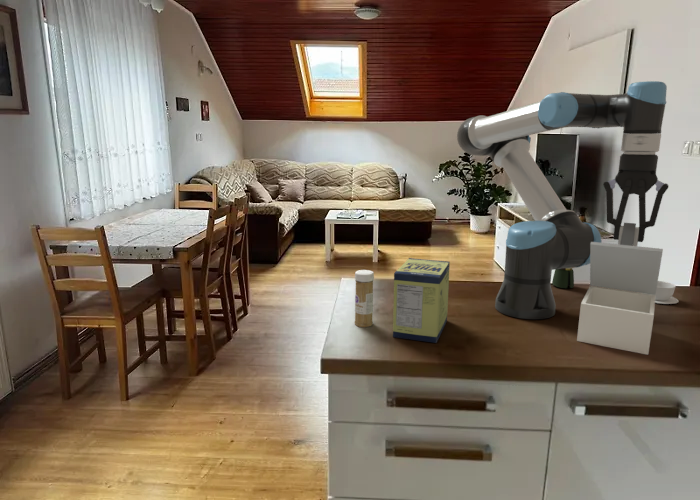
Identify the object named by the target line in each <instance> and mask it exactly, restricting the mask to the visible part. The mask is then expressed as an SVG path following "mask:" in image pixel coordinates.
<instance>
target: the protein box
mask: <svg viewBox="0 0 700 500" xmlns="http://www.w3.org/2000/svg"><path fill="white" fill-rule="evenodd" d="M450 264H451V262H450V261H447V260H446V261H444V260H436V259H435V260H432V259H425V258H424V259H421V258H413V257H411V258H410V257H408V259H407V260H406V261H405V262H403V264H402V265H401V266H400V267H399V268H398V269H397V270H395V271H394V274H393V309H392V310H393V314H392V337H393V338H398V339H405V340H412V341H421V342H428V343H432V344H433V343H434V344H437V343H438V341H439V338H440V336H441V334H442V332H443V331H444V328H445V327H446V323H447V321H448V310H449V309H448V308H449V307H448V305H449V303H448V302H449V284H450V283H449V281H450Z"/></svg>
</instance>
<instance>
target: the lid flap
mask: <svg viewBox="0 0 700 500" xmlns="http://www.w3.org/2000/svg"><path fill="white" fill-rule="evenodd" d="M622 226H623V232H622V237H621V243H620V245H619V244H618V243H607V242H602V243H599V242H591V244H590V264H589V267H590V268H589V269H590V270H589V281H590V282H589V287H590V286H594V287H601V288H608V289H615V290H622V291H629V292H637V293H646V294H654V295H656V289H657V283H658V281H659V275H660V270H661V265H662V257H663V252H664V249H663V248H659V247H658V248H657V247H647V246H640V245H639V246H638V245H637V246H633V243H634V235H635V228H636V227H637V223H633V222H623V225H622Z"/></svg>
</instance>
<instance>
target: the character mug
mask: <svg viewBox="0 0 700 500" xmlns="http://www.w3.org/2000/svg"><path fill="white" fill-rule="evenodd" d="M575 268H576V267H571V268H563V269H555V270H554V273H553V277H552V281H551V285H553V286H554V287H556V288H559V289H560V288H561V289H568V286H569V288H570V289H572V288H573V289H574V286H575V280H574V279H575V276H574V275H575V274H574V269H575Z"/></svg>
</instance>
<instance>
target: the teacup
mask: <svg viewBox="0 0 700 500" xmlns="http://www.w3.org/2000/svg"><path fill="white" fill-rule="evenodd" d="M675 290H676V285H675V284H674V283H671V282H667V281H664V280H663V281H662V280H658V283H657V289H656V295H655V304H661V305H662V304H663V305H669V304H670V305H672V304H677V303H679V300H678V299H677V298H676V297H674V296H673V295H674V292H675ZM644 294H646V293H644ZM651 295H654V294H651Z"/></svg>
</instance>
